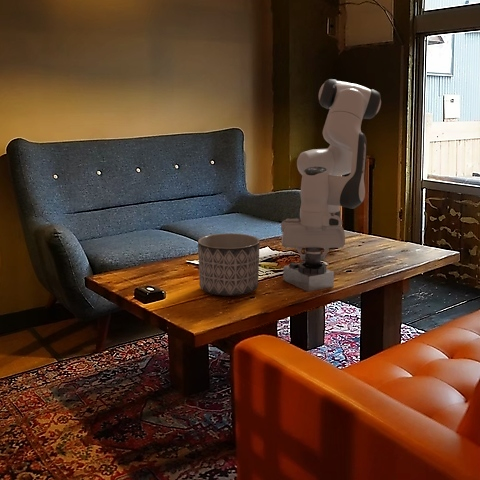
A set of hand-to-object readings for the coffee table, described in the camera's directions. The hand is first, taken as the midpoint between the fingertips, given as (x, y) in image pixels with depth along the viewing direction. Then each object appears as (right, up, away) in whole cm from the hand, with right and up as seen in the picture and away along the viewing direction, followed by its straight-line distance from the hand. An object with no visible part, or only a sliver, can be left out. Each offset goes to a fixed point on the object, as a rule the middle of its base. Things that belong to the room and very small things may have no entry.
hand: (312, 260), depth 201 cm
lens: (0, -2, 0) cm, 2 cm away
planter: (-27, -10, -3) cm, 29 cm away
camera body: (-1, -8, +4) cm, 9 cm away
